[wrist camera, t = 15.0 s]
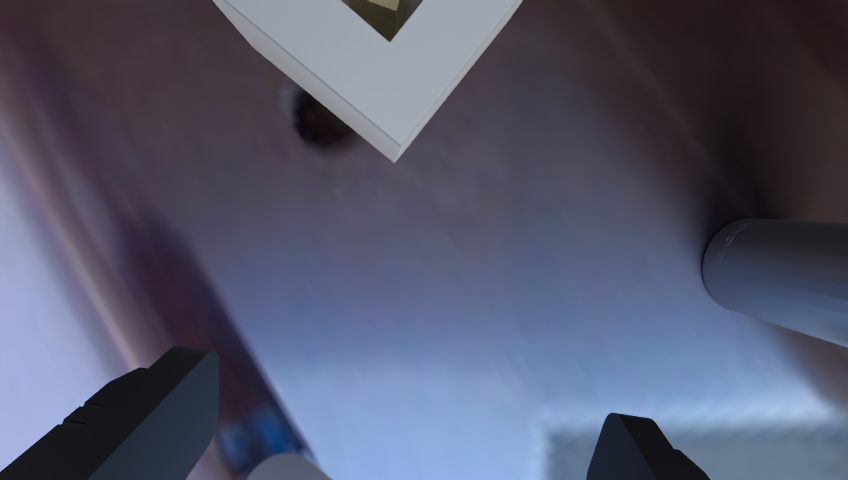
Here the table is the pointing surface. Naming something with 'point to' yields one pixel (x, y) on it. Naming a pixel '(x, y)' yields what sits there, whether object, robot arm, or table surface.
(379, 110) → the box
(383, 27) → the tan rectangular block
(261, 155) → the table surface
